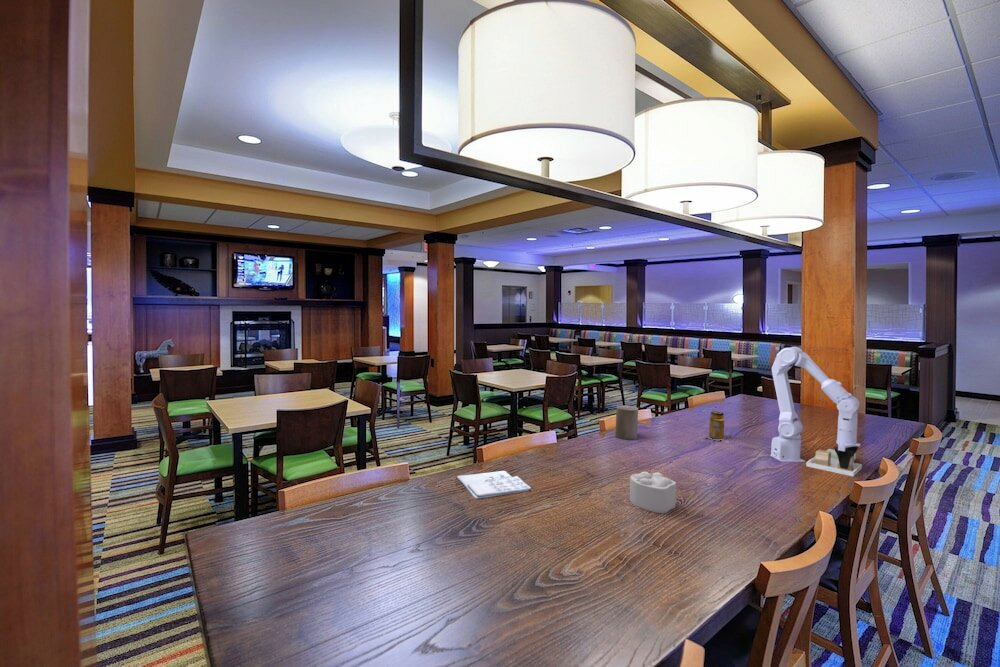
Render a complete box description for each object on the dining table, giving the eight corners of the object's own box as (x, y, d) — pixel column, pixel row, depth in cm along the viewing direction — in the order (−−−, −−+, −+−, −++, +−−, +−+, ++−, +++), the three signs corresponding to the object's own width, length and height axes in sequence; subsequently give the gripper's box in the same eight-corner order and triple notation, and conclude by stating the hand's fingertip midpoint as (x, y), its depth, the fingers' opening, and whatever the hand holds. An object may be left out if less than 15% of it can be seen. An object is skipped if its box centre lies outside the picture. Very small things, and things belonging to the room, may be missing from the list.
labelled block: (850, 472, 170) (851, 458, 170) (837, 469, 173) (838, 455, 173) (853, 469, 173) (854, 456, 173) (840, 467, 176) (840, 453, 176)
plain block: (827, 467, 175) (828, 454, 175) (815, 464, 178) (815, 451, 178) (830, 465, 178) (831, 452, 178) (818, 462, 181) (818, 449, 181)
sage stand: (850, 465, 180) (850, 458, 180) (822, 459, 187) (822, 453, 186) (855, 460, 186) (856, 453, 186) (828, 454, 193) (828, 448, 192)
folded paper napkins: (475, 501, 145) (475, 494, 145) (456, 479, 163) (456, 472, 163) (531, 492, 152) (531, 486, 152) (507, 472, 171) (507, 466, 170)
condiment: (727, 438, 216) (728, 412, 216) (719, 442, 210) (720, 415, 210) (710, 435, 221) (711, 409, 221) (703, 438, 216) (704, 412, 215)
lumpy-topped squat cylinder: (662, 515, 135) (662, 485, 134) (622, 501, 144) (622, 473, 144) (679, 505, 142) (680, 476, 141) (640, 492, 151) (640, 466, 151)
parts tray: (861, 469, 175) (862, 464, 175) (853, 477, 166) (853, 472, 166) (816, 460, 185) (816, 455, 185) (806, 467, 177) (806, 462, 177)
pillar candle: (617, 439, 212) (619, 406, 212) (613, 433, 222) (614, 402, 221) (639, 440, 212) (641, 407, 211) (634, 434, 222) (635, 402, 221)
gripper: (855, 435, 165) (854, 474, 165) (865, 428, 174) (863, 465, 175) (831, 431, 170) (830, 468, 170) (842, 425, 179) (840, 460, 180)
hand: (845, 466), depth 173 cm, fingers closed on labelled block, 4 cm apart
